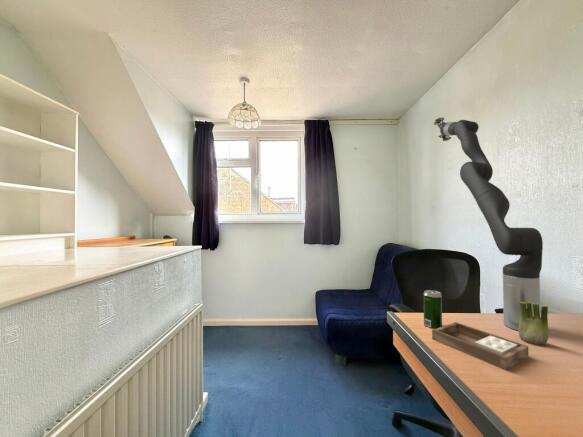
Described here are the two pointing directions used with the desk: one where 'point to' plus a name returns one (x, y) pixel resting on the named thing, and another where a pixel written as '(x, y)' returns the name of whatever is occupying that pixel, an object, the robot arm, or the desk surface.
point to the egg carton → (496, 345)
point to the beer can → (432, 309)
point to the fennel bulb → (533, 324)
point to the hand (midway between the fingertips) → (437, 129)
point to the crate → (465, 342)
